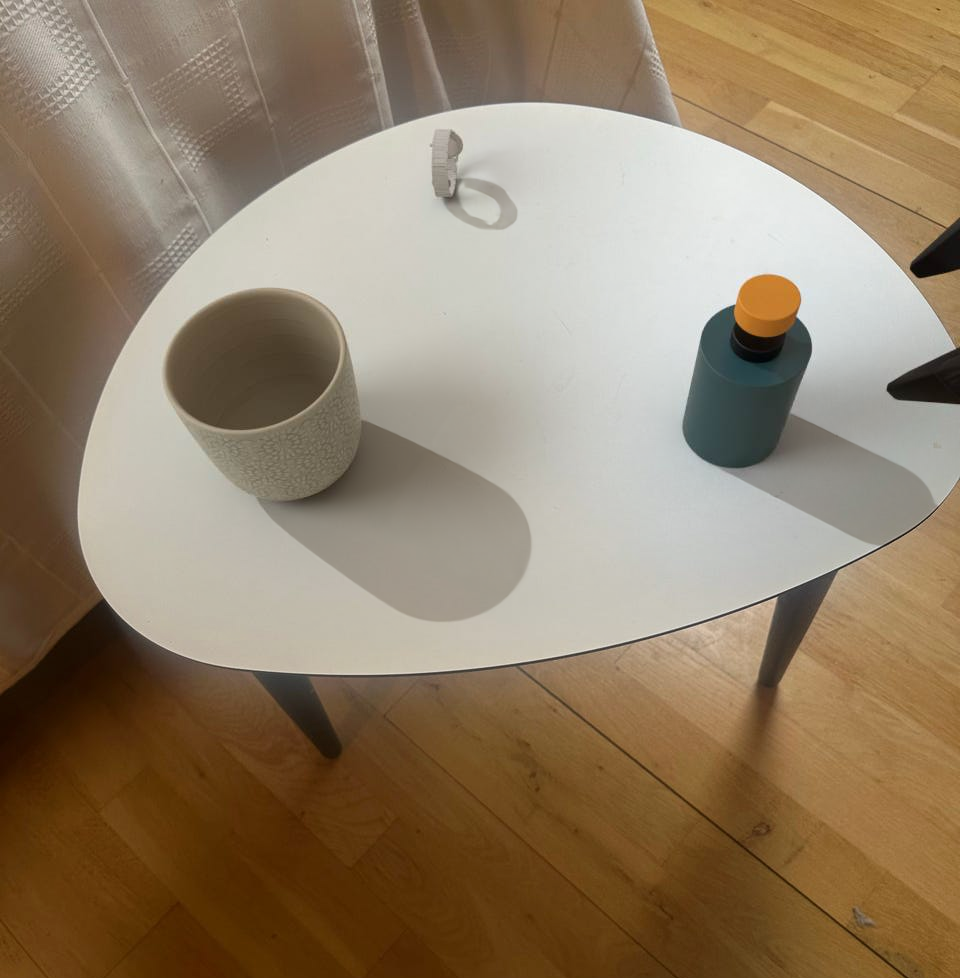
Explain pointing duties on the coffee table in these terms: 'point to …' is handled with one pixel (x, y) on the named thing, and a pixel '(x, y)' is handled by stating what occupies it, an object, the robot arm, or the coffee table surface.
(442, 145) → the wristwatch
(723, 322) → the bottle
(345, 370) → the planter
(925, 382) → the robot arm
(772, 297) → the orange short cylinder
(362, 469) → the coffee table surface
